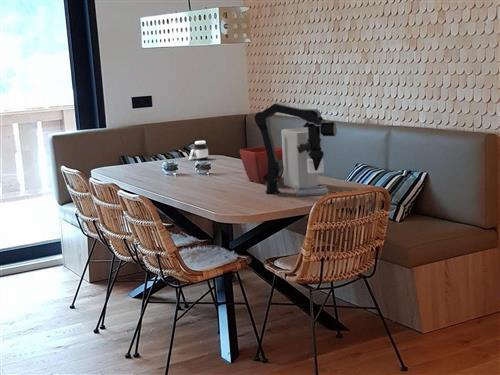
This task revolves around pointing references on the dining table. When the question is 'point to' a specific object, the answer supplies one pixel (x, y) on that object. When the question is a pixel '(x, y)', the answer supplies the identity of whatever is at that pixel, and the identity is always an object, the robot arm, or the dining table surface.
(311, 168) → the module
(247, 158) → the plant pot
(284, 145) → the paper bag
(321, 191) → the grey folded cloth
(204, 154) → the spread jar
